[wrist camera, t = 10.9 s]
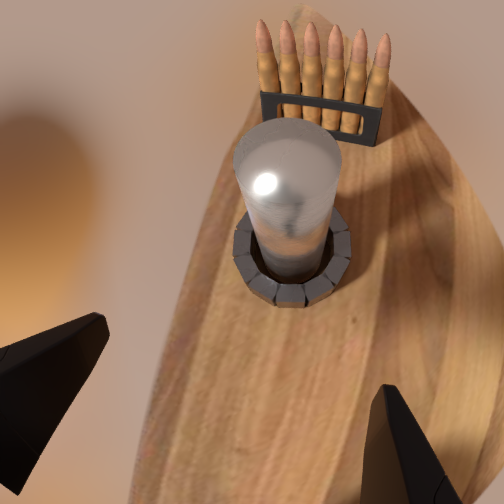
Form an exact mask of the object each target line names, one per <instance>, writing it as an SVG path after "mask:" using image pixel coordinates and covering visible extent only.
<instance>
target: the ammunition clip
mask: <svg viewBox="0 0 504 504" xmlns="http://www.w3.org/2000/svg"><path fill="white" fill-rule="evenodd" d="M256 45H257V55H258V60H257V68H258V74H259V81H260V87H261V91H260V97H261V107H262V117H263V122H265V121H268V120H272V119H276V118H286V117H289V118H300V119H304V120H308V121H310V122H313V123H315V124H317V125H319V126H321V127H322V128H324V129H325V130H326V131H328V132H329V133H330V134H331V135H332V137H333V138H334V139H335V140H338V141H344V142H349V143H355V144H360V145H365V146H370V147H374V146H375V144H376V139H377V134H378V129H379V124H380V119H381V114H382V107H383V103H384V99H385V95H386V91H387V86H388V82H389V74H388V73H389V67H390V66H389V64H390V59H391V43H390V38H389V35H388V34H387V33H386V34H384V35H383V37H382V38H381V40H380V42H379V44H378V47H377V50H376V53H375V58H374V62H373V66H372V69H371V72H370V74H369V77H368V82H367V88H366V92H365V86H366V79H367V71H366V65H367V39H366V35H365V32H364V30H363V29H360V30H359V31H358V32H357V34H356V37H355V39H354V42H353V46H352V50H351V57H350V62H349V67H348V69H347V72H346V80H345V89H344V88H343V87H344V76H345V70H344V56H343V52H344V46H343V38H342V34H341V30H340V28H339V26H338V25H335V26H334V27H333V29H332V31H331V34H330V37H329V41H328V49H327V58H326V64H325V68H324V82H323V85H322V64H321V58H320V44H319V37H318V33H317V30H316V27H315V25H314V24H313V22H310V23H309V24H308V26H307V28H306V32H305V37H304V53H303V63H302V83H300V65H299V61H298V58H297V51H296V44H295V38H294V34H293V31H292V28H291V26H290V24H289V23H288V21H287V20H284V22H283V24H282V26H281V31H280V63H279V70H280V81H279V73H278V65H277V61H276V58H275V56H274V50H273V47H272V40H271V37H270V33H269V31H268V28H267V26H266V24H265V23H264V22H263V20H261V19H260V20H259V21H258V24H257V28H256ZM301 92H302V95H301ZM322 95H323V98H322ZM342 98H343V101H342ZM282 103H283V109H282ZM362 104H363V105H362ZM301 105H303V113H302V108H301ZM321 108H322V115H321ZM341 111H342V114H341ZM360 115H361V119H360ZM340 116H341V118H340ZM359 120H360V121H359Z"/></svg>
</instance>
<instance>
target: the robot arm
mask: <svg viewBox="0 0 504 504" xmlns="http://www.w3.org/2000/svg"><path fill="white" fill-rule="evenodd" d="M109 336H110V333H109V329H108V325H107V322H106V318H105V316H104V315H102V314H99V313H97V312H93V313H90V314H87V315H85V316H82V317H80V318H77V319H75V320H72V321H70V322H67V323H64V324H62V325H59V326H57V327H54V328H52V329H49V330H46V331H44V332H41V333H39V334H36V335H34V336H31V337H28V338H26V339H23V340H21V341H18V342H15V343H13V344H11V345H8V346H5V347H2V348H0V483H1V484H2V485H3V486H5V487H6V488H8V489H9V490H10V491H12V492H13V493H15V494H16V495H17V496H18V495H19V494H20V492H21V491H22V489H23V487H24V485H25V483H26V481H27V479H28V477H29V475H30V474H31V472H32V470H33V468H34V466H35V465H36V463H37V461H38V459H39V457H40V455H41V454H42V452H43V450H44V449H45V447H46V445H47V443H48V442H49V440H50V438H51V436H52V435H53V433H54V431H55V430H56V428H57V426H58V425H59V423H60V421H61V420H62V418H63V416H64V415H65V413H66V412H67V410H68V408H69V407H70V405H71V404H72V402H73V400H74V399H75V397H76V396H77V394H78V392H79V391H80V389H81V388H82V386H83V385H84V383H85V382H86V380H87V379H88V377H89V375H90V374H91V372H92V370H93V368H94V366H95V365H96V363H97V361H98V358H99V357H100V355H101V353H102V351H103V349H104V347H105V345H106V344H107V342H108V340H109ZM360 504H463V503H462V501H461V500H460V498H459V497H458V495H457V493H456V491H455V490H454V488H453V486H452V484H451V482H450V480H449V479H448V477H447V475H445V471H444V469H443V467H442V466H441V464H440V462H439V460H438V458H437V456H436V455H435V453H434V451H433V449H432V447H431V446H430V444H429V442H428V440H427V438H426V437H425V435H424V433H423V431H422V430H421V428H420V426H419V424H418V423H417V421H416V419H415V417H414V416H413V414H412V412H411V411H410V409H409V407H408V405H407V404H406V402H405V400H404V399H403V397H402V395H401V394H400V392H399V390H398V389H397V387H396V386H395V385H388V384H383V385H381V387H380V388H379V390H378V392H377V394H376V396H375V397H374V399H373V401H372V404H371V409H370V416H369V423H368V430H367V436H366V442H365V448H364V458H363V473H362V485H361V496H360Z"/></svg>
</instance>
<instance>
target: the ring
mask: <svg viewBox="0 0 504 504" xmlns="http://www.w3.org/2000/svg"><path fill="white" fill-rule="evenodd" d="M236 227H237V230H235V233H234V244H233V257H234V259H233V260H234V262H235V264H236V266H237V268H238V270H239V271H240V273H241V275H242V277H243V279H244V281H245V283H246V285H247V286H248V288H249V289H250V290H251V291H252V292H253V294H255V295H257V296H258V297H260V298H261V299H263V300H265V301H266V302H268V303H270V304H271V305H273V306H275V305H276V303H277V306H278V308H304V305H305V303H306V305H307V307H309V306H311V305H313V304H315V303H317V302H318V301H320V300H322V299H324V298H325V297H327V296H329V295H330V294H331V292H333V291H334V289H335V288H336V286H337V284H338V283H339V281H340V279H341V277H342V276H343V274H344V272H345V270H346V268H347V266H348V264H349V263H350V259H351V239H350V231H348V228H349V227H348V226H347V224H346V223H345V221H344V220H343V218H342V217H341V215H340V214H339V212H338V211H337V209H336V208H335V207H333V209H332V214H331V219H330V223H329V228H328V232H327V237H326V240H327V241H328V243H329V245H330V262H329V264H328V266H327V267H326V269H325V271H324V273H323V274H321V275H319V276H317V277H315V278H314V279H312V280H310V281H308V282H306V283H305V284H279V283H277V282H275V281H274V280H272V279H270V278H269V277H267V276H265V275H264V274H262V273H260V272H259V270H258V268H257V266H256V264H255V247H256V243H257V242H258V241H257V238H256V235H255V232H254V229H253V226H252V223H251V220H250V217H249V213H248V210H247V212H246V213H245V215H244V216H243V217H242V219H241V220H240V222H239V223H238V225H237V226H236Z"/></svg>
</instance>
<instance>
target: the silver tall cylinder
mask: <svg viewBox="0 0 504 504" xmlns="http://www.w3.org/2000/svg"><path fill="white" fill-rule="evenodd" d="M341 163H342V161H341V152H340V149H339V146H338V144H337V142H336V141H335V139H334V138H333V137H332V135H331V134H330V133H329V132H328V131H326V130H325V129H324V128H322V127H321V126H319V125H317V124H315V123H313V122H310V121H308V120H304V119H300V118H289V117H286V118H276V119H272V120H268V121H265V122H262V123H260V124H258V125H256V126H255V127H253V128H252V129H250V130H249V131H248V132H247V133H246V134H245V135H244V136H243V137H242V138H241V139H240V141H239V142H238V144H237V146H236V149H235V151H234V156H233V167H234V171H235V174H236V177H237V180H238V183H239V186H240V189H241V192H242V195H243V198H244V201H245V204H246V207H247V210H248V213H249V217H250V220H251V223H252V226H253V229H254V232H255V235H256V238H257V241H258V244H259V247H260V250H261V253H262V256H263V259H264V262H265V265H266V268H267V270H268V271H269V273H270V274H271V275H272V276H273V277H274V278H276V279H277V280H279V281H281V282H284V283H288V284H296V283H301V282H304V281H306V280H308V279H309V278H311V277H312V276H313V275H314V274H315V273H316V271H317V270H318V268H319V266H320V263H321V258H322V254H323V250H324V246H325V241H326V237H327V232H328V228H329V223H330V219H331V214H332V209H333V205H334V200H335V195H336V190H337V185H338V180H339V175H340V169H341Z"/></svg>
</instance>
